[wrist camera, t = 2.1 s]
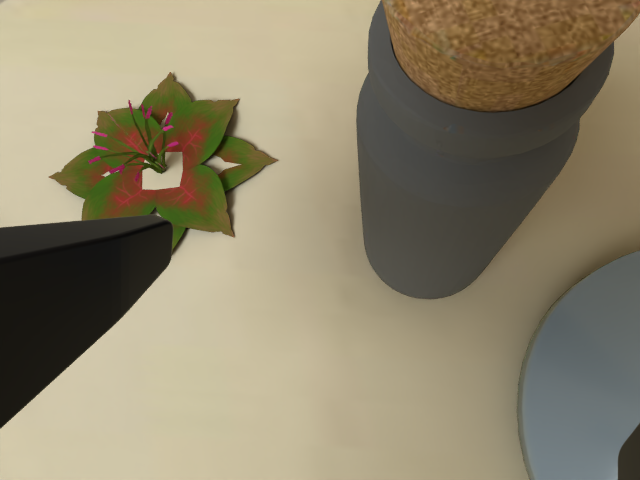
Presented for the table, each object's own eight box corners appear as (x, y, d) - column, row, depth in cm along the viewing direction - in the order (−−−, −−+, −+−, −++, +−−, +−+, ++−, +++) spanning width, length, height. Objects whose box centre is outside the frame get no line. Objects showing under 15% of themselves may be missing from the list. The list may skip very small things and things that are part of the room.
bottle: (367, 182, 24) (357, -147, 10) (488, 187, 23) (668, -165, 9) (359, 295, 22) (330, 91, 8) (490, 305, 21) (726, 97, 7)
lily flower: (178, 51, 29) (143, -13, 24) (319, 162, 25) (307, 111, 21) (21, 185, 26) (-47, 142, 22) (150, 329, 23) (98, 311, 19)
